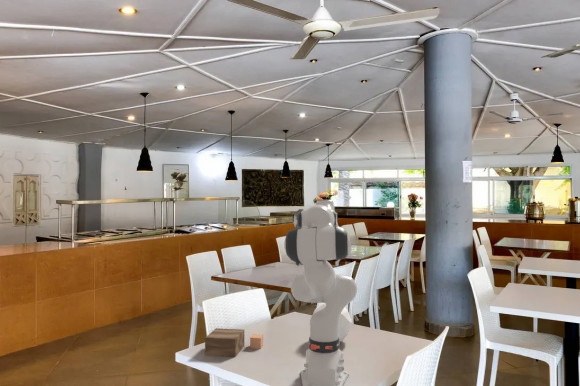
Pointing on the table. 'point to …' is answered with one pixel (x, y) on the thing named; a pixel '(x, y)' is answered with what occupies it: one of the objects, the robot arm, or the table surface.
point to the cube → (256, 341)
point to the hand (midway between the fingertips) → (326, 265)
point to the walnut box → (224, 342)
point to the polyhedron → (340, 322)
